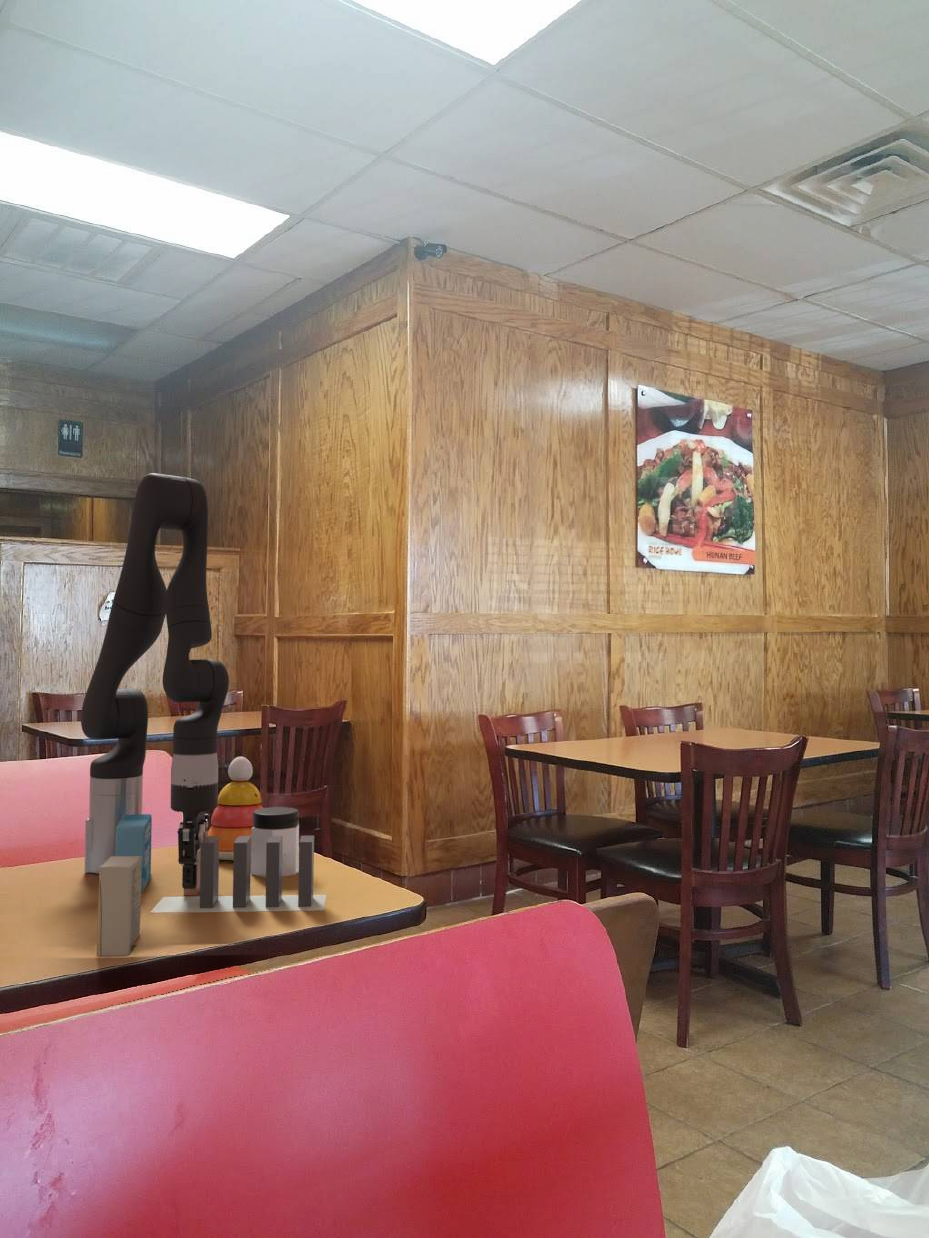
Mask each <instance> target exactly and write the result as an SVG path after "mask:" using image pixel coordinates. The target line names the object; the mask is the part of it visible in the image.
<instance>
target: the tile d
mask: <svg viewBox="0 0 929 1238" xmlns="http://www.w3.org/2000/svg"><path fill="white" fill-rule="evenodd" d="M282 849H283V836H270V837H269V839H268V841H267V842H266V877H265V895H266V907H279V905H280V902H281V899H282V895H283V876H282Z"/></svg>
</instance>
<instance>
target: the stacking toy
mask: <svg viewBox="0 0 929 1238" xmlns="http://www.w3.org/2000/svg"><path fill="white" fill-rule="evenodd" d="M253 770H254V769H253V765H252V763H251V761H250V760H248V758H246V757H244V756H237V757H235V758H233V760H232V761H231V762H230V764H229V766H228V769H227V774H228V776H229V779H230V780H232V781H231V782H230V783H227V784H226V785H225V786H223V788H222V789H221V790H220V791H219V792H218V806H217V808H215V809H214V810H213V812H212V814H211V818H210V824H211V826H210V827H209V828H208V837H209V836H219V861H220V860H221V861H222V860H223V861H233V857H234V842H235V840H236V839H237V837H238V836H251V842H252V828H253V811H255V810H257V809H261V808H264V807H263V806H262V804H261V803H262V796H261V793H260V791H259V789H258V788H257V786H255V785H254V784H253V783H251V782H250V781H249V780H250V779H251V778H252V776H253V772H254V771H253Z"/></svg>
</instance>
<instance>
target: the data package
mask: <svg viewBox="0 0 929 1238" xmlns="http://www.w3.org/2000/svg"><path fill="white" fill-rule="evenodd" d="M152 818H153V817H152V814H151V813H146V814H145V813H144V814H143V813H142V814H137V815H124V817H123V818H122V819H121V821H120V822H119V824H118V825H117V828H116V850H115V856H142V872H141V892H144V891H145V889H146V886H147V884H148V882H149V880H150V877H151V874H152V830H153V829H152V826H153V824H152V822H153V821H152Z"/></svg>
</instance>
